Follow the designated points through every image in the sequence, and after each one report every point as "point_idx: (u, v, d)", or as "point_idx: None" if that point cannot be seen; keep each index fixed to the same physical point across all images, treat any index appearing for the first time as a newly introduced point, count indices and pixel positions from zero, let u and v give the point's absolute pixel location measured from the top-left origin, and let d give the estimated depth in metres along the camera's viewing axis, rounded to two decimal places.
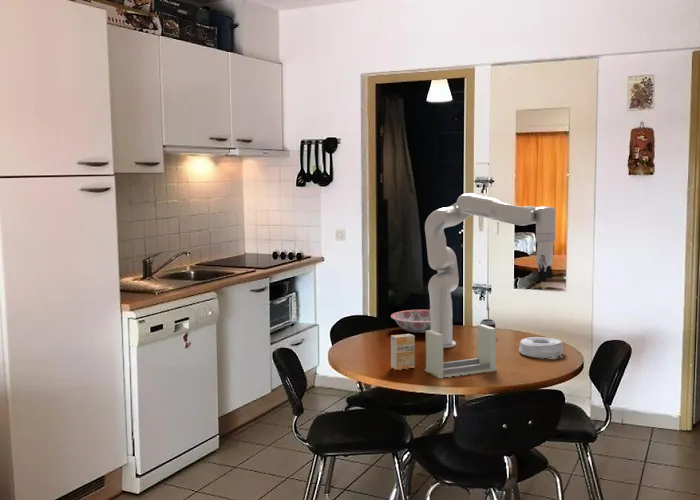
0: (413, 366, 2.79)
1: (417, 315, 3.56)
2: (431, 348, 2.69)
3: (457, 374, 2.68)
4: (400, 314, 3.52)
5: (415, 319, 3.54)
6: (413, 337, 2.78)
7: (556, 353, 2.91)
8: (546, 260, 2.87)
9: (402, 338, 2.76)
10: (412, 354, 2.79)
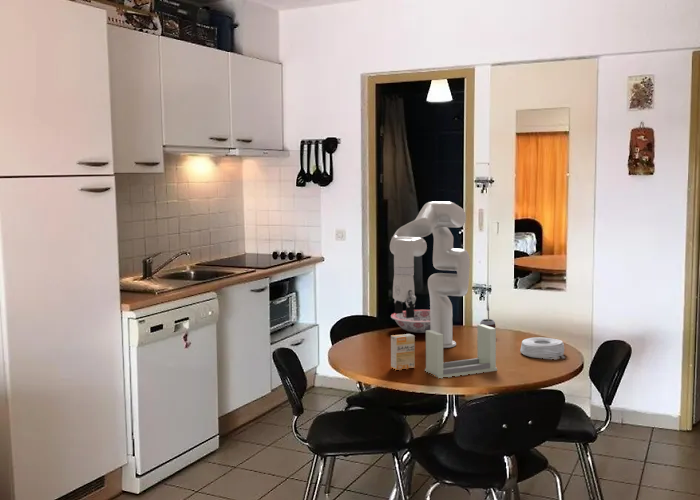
0: (413, 366, 2.79)
1: (417, 315, 3.56)
2: (431, 348, 2.69)
3: (457, 374, 2.68)
4: (400, 314, 3.52)
5: (415, 319, 3.54)
6: (413, 337, 2.78)
7: (557, 353, 2.90)
8: (413, 295, 2.73)
9: (402, 338, 2.76)
10: (412, 354, 2.79)
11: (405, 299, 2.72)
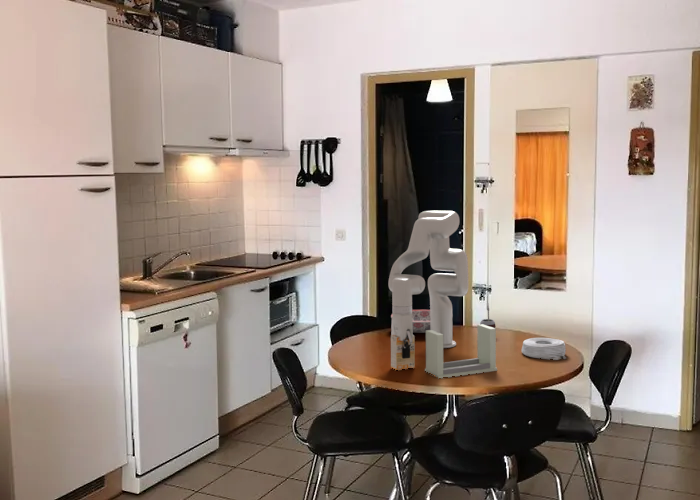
0: (413, 366, 2.79)
1: (417, 315, 3.56)
2: (431, 348, 2.69)
3: (457, 374, 2.68)
4: None
5: (415, 319, 3.54)
6: (413, 337, 2.78)
7: (559, 354, 2.90)
8: (411, 334, 2.75)
9: None
10: (412, 354, 2.79)
11: (403, 338, 2.73)
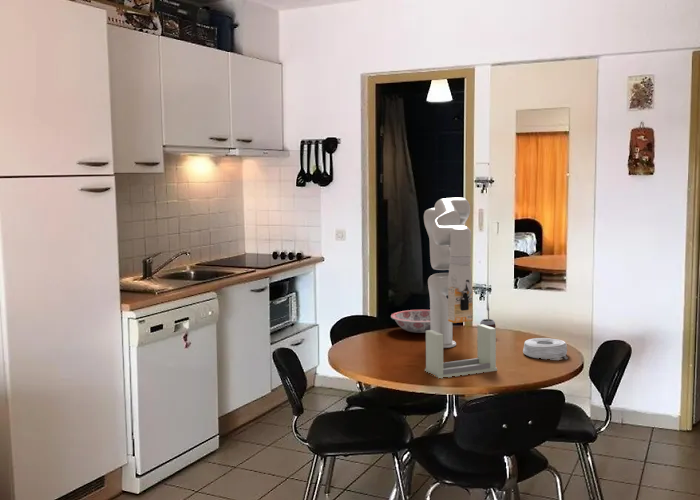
0: (471, 319, 2.72)
1: (417, 315, 3.56)
2: (431, 348, 2.69)
3: (457, 374, 2.68)
4: (400, 314, 3.52)
5: (415, 319, 3.54)
6: None
7: (560, 354, 2.89)
8: (471, 285, 2.67)
9: None
10: (470, 306, 2.71)
11: (462, 289, 2.66)
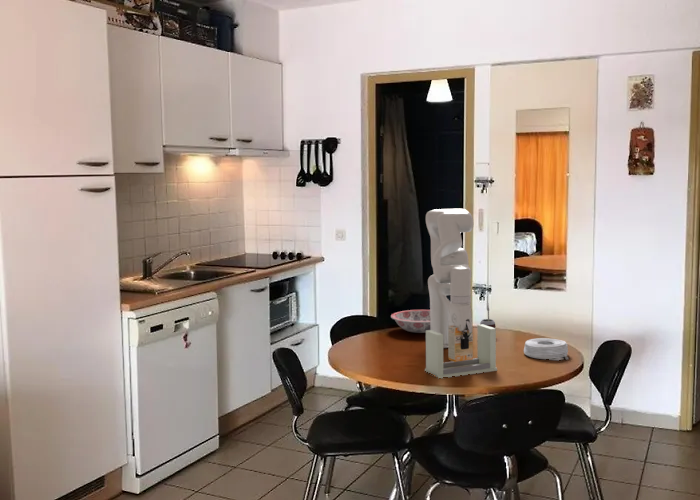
0: (471, 357, 2.74)
1: (417, 315, 3.56)
2: (431, 348, 2.69)
3: (457, 374, 2.68)
4: (400, 314, 3.52)
5: (415, 319, 3.54)
6: None
7: (561, 354, 2.89)
8: (471, 324, 2.69)
9: None
10: (470, 345, 2.73)
11: (463, 328, 2.68)
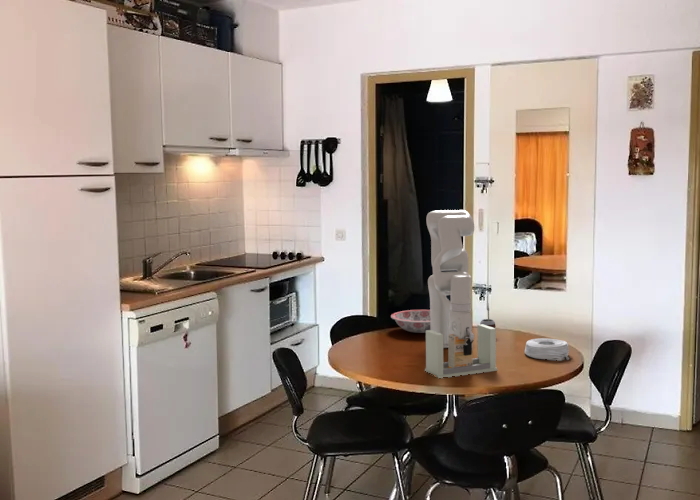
0: None
1: (417, 315, 3.56)
2: (431, 348, 2.69)
3: (457, 374, 2.68)
4: (400, 314, 3.52)
5: (415, 319, 3.54)
6: None
7: (562, 355, 2.88)
8: None
9: None
10: None
11: (463, 336, 2.68)
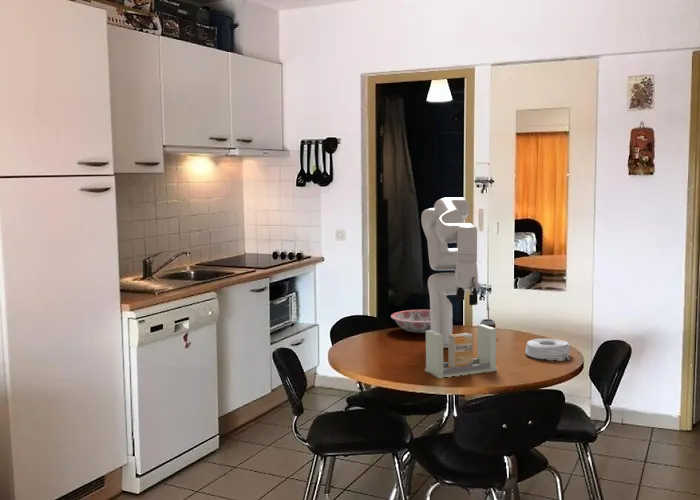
0: None
1: (417, 315, 3.56)
2: (431, 348, 2.69)
3: (457, 374, 2.68)
4: (400, 314, 3.52)
5: (415, 319, 3.54)
6: (471, 336, 2.73)
7: (563, 355, 2.88)
8: None
9: (460, 337, 2.71)
10: (470, 354, 2.73)
11: (468, 286, 2.71)
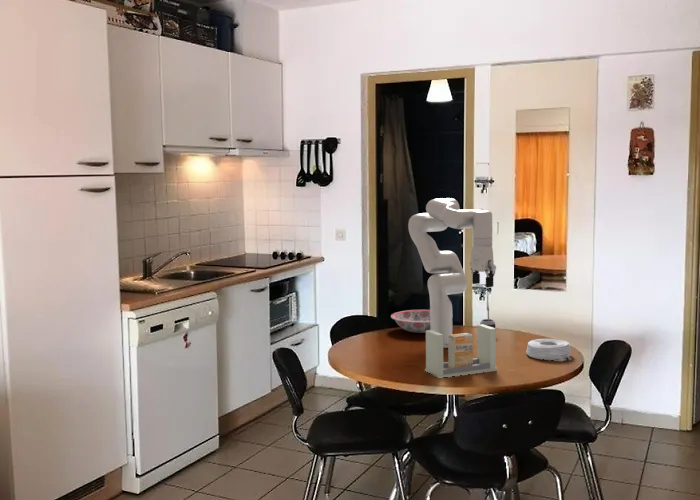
0: None
1: (417, 315, 3.56)
2: (431, 348, 2.69)
3: (457, 374, 2.68)
4: (400, 314, 3.52)
5: (415, 319, 3.54)
6: (471, 336, 2.73)
7: (564, 355, 2.87)
8: None
9: (460, 337, 2.71)
10: (470, 354, 2.73)
11: (485, 269, 2.81)
